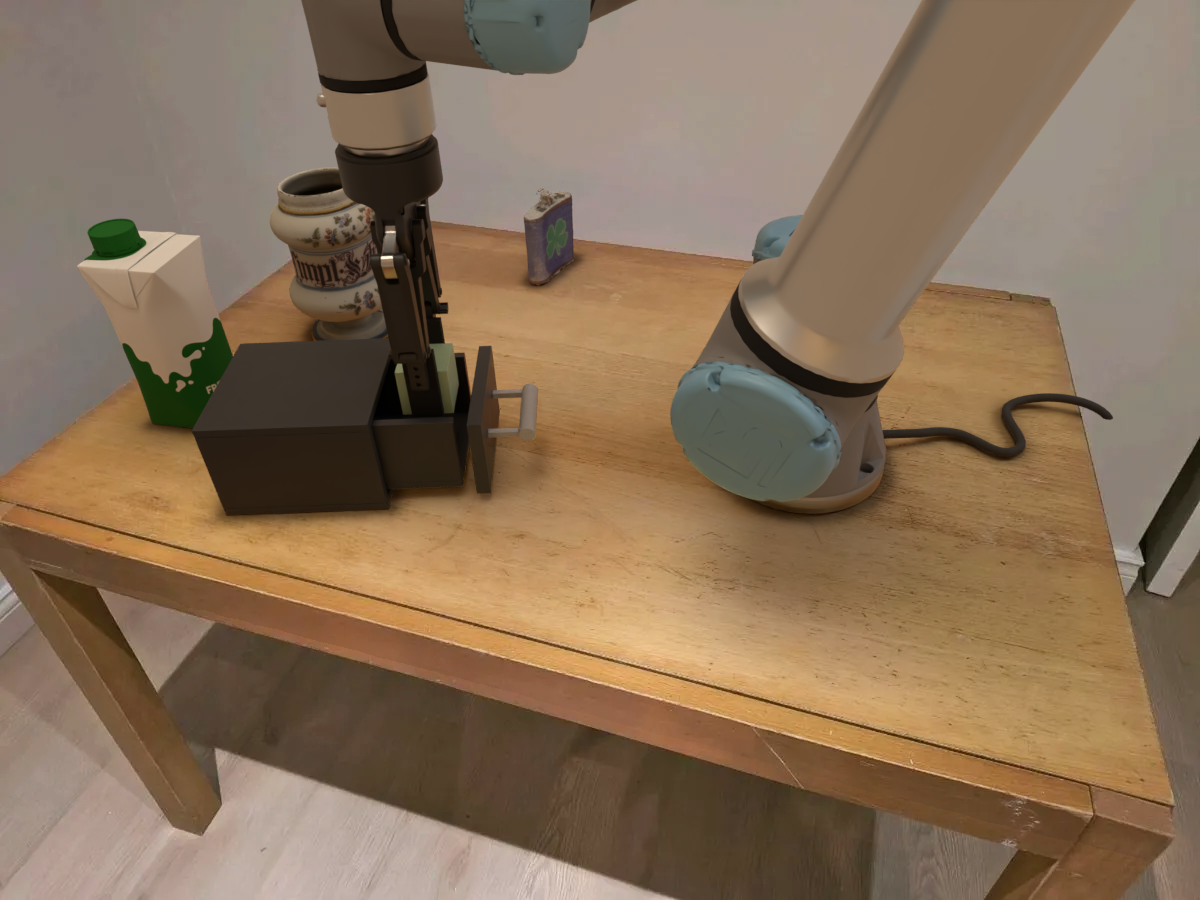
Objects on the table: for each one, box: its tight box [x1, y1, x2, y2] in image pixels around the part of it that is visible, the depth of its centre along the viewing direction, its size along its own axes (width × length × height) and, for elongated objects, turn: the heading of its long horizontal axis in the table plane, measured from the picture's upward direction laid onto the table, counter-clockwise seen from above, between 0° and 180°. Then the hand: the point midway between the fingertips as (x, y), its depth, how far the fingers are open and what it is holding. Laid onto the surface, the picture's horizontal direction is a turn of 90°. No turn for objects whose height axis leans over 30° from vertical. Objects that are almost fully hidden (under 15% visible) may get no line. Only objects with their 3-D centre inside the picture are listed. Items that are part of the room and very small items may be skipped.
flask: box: [523, 187, 575, 287], centre depth 109 cm, size 9×3×11 cm, turn 150°
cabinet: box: [191, 337, 394, 516], centre depth 80 cm, size 15×14×10 cm
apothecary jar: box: [269, 166, 388, 341], centre depth 97 cm, size 12×12×18 cm
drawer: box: [371, 345, 539, 495], centre depth 80 cm, size 18×12×8 cm
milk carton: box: [76, 218, 234, 429], centre depth 85 cm, size 9×9×20 cm
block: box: [395, 342, 459, 415], centre depth 77 cm, size 4×4×4 cm
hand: (432, 396), depth 79 cm, fingers closed on block, 4 cm apart
